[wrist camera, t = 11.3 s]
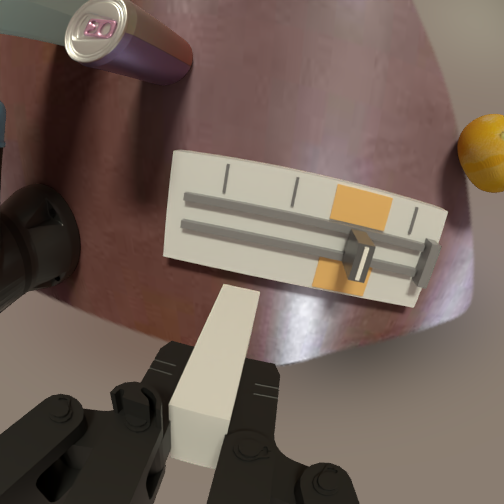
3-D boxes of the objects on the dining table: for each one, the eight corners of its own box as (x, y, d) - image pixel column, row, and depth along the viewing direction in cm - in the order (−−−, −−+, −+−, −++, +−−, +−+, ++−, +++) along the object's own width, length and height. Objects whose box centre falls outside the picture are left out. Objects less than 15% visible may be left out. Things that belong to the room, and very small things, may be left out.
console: (169, 250, 38) (156, 262, 34) (180, 149, 33) (166, 151, 29) (408, 299, 36) (418, 316, 32) (440, 207, 31) (456, 216, 28)
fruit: (476, 100, 26) (515, 96, 19) (511, 152, 27) (550, 161, 20) (434, 147, 29) (468, 153, 22) (472, 199, 30) (508, 217, 23)
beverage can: (182, 92, 31) (108, 71, 17) (137, 79, 31) (52, 60, 17) (203, 44, 28) (143, -6, 15) (157, 33, 28) (81, -10, 14)
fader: (340, 257, 33) (348, 280, 28) (349, 225, 32) (359, 243, 26) (354, 260, 33) (364, 283, 28) (363, 228, 31) (376, 247, 26)
